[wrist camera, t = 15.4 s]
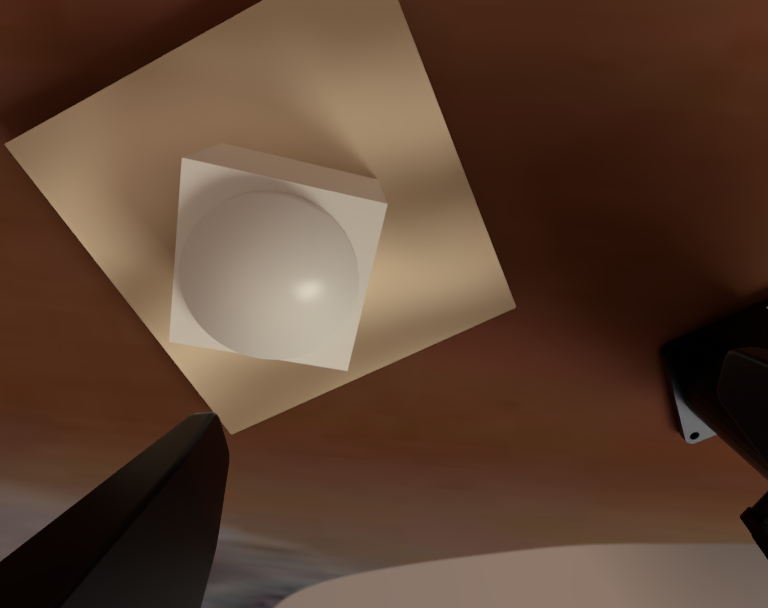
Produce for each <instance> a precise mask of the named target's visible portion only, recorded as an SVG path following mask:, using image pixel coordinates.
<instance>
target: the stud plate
mask: <svg viewBox="0 0 768 608" xmlns="http://www.w3.org/2000/svg"><path fill="white" fill-rule="evenodd" d="M221 143H225V144H229V145H233V146H238V147H242V148H246V149H250V150H255V151H259V152H263V153H268V154H272V155H276V156H280V157H285V158H289V159H293V160H298V161H302V162H306V163H310V164H315V165H319V166H323V167H328V168H332V169H336V170H340V171H345V172H349V173H353V174H358V175H362V176H366V177H370V178H375V179H378V181H379V184H380V186H381V189H382V191H383V194H384V196H385V198H386V201H387V203H388V205H387V209H386V213H385V217H384V221H383V226H382V230H381V234H380V238H379V242H378V246H377V251H376V255H375V259H374V263H373V267H372V271H371V276H370V280H369V284H368V288H367V292H366V296H365V300H364V305H363V309H362V313H361V317H360V321H359V325H358V330H357V334H356V338H355V342H354V346H353V350H352V355H351V359H350V363H349V367H348V371H343V370H337V369H331V368H325V367H319V366H313V365H307V364H301V363H295V362H288V361H282V360H268V359H259V358H254V357H250V356H246V355H243V354H239V353H233V352H227V351H221V350H215V349H209V348H203V347H197V346H191V345H184V344H178V343H172V342H169V335H170V320H171V306H172V291H173V277H174V262H175V248H176V234H177V219H178V205H179V190H180V176H181V161H182V157H184V156H187V155H190V154H193V153H196V152H199V151H201V150H204V149H207V148H210V147H213V146H216V145H219V144H221ZM4 145H5V146H6V147H7V149H8V150H9V151H10V152H11V154H12V155H13V156H14V157H15V159H16V160H17V161H18V163H19V164H20V165H21V166H22V168H23V169H24V170H25V172H26V173H27V174H28V175H29V177H30V178H31V179H32V180H33V182H34V183H35V184H36V186H37V187H38V188H39V189H40V191H41V192H42V193H43V195H44V196H45V197H46V198H47V200H48V201H49V202H50V203H51V205H52V206H53V207H54V209H55V210H56V211H57V212H58V214H59V215H60V216H61V218H62V219H63V220H64V221H65V223H66V224H67V225H68V226H69V228H70V229H71V230H72V232H73V233H74V234H75V235H76V237H77V238H78V239H79V241H80V242H81V243H82V244H83V246H84V247H85V248H86V249H87V251H88V252H89V253H90V255H91V256H92V257H93V258H94V260H95V261H96V262H97V264H98V265H99V266H100V267H101V269H102V270H103V271H104V272H105V274H106V275H107V276H108V278H109V279H110V280H111V281H112V283H113V284H114V285H115V287H116V288H117V289H118V290H119V292H120V293H121V294H122V295H123V297H124V298H125V299H126V301H127V302H128V303H129V304H130V306H131V307H132V308H133V310H134V311H135V312H136V313H137V315H138V316H139V317H140V318H141V320H142V321H143V322H144V324H145V325H146V326H147V327H148V329H149V330H150V331H151V333H152V334H153V335H154V336H155V338H156V339H157V340H158V341H159V343H160V344H161V345H162V347H163V348H164V349H165V350H166V352H167V353H168V354H169V356H170V357H171V358H172V359H173V361H174V362H175V363H176V364H177V366H178V367H179V368H180V370H181V371H182V372H183V373H184V375H185V376H186V377H187V379H188V380H189V381H190V382H191V384H192V385H193V386H194V388H195V389H196V390H197V391H198V393H199V394H200V395H201V396H202V398H203V399H204V400H205V402H206V403H207V404H208V405H209V407H210V408H211V409H212V411H213V412H215V413H216V414H217V415H218V416H219V418H220V421H221V422H222V423H223V425H224V426H225V427H226V428H227V430H228V431H229V432H230V434H231V435H232V434H234V433H236V432H239V431H241V430H243V429H245V428H247V427H250V426H252V425H254V424H256V423H259V422H261V421H263V420H265V419H268V418H270V417H272V416H274V415H277V414H279V413H281V412H283V411H286V410H288V409H290V408H292V407H294V406H297V405H299V404H301V403H303V402H306V401H308V400H310V399H312V398H315V397H317V396H319V395H321V394H324V393H326V392H328V391H330V390H333V389H335V388H337V387H339V386H342V385H344V384H346V383H348V382H350V381H353V380H355V379H357V378H359V377H362V376H364V375H366V374H368V373H371V372H373V371H375V370H377V369H380V368H382V367H384V366H386V365H389V364H391V363H393V362H395V361H397V360H400V359H402V358H404V357H406V356H409V355H411V354H413V353H415V352H418V351H420V350H422V349H424V348H427V347H429V346H431V345H433V344H436V343H438V342H440V341H442V340H444V339H447V338H449V337H451V336H453V335H456V334H458V333H460V332H462V331H465V330H467V329H469V328H471V327H474V326H476V325H478V324H480V323H483V322H485V321H487V320H489V319H492V318H494V317H496V316H498V315H500V314H503V313H505V312H507V311H509V310H512V309H514V308H516V305H515V302H514V300H513V297H512V295H511V292H510V289H509V287H508V284H507V282H506V279H505V276H504V274H503V271H502V269H501V266H500V263H499V261H498V258H497V256H496V253H495V250H494V248H493V245H492V243H491V240H490V237H489V235H488V232H487V230H486V227H485V224H484V222H483V219H482V217H481V214H480V211H479V209H478V206H477V204H476V201H475V198H474V196H473V193H472V191H471V188H470V185H469V183H468V180H467V178H466V175H465V172H464V170H463V167H462V165H461V162H460V159H459V157H458V154H457V152H456V149H455V147H454V144H453V141H452V139H451V136H450V134H449V131H448V128H447V126H446V123H445V121H444V118H443V115H442V113H441V110H440V108H439V105H438V102H437V100H436V97H435V95H434V92H433V89H432V87H431V84H430V82H429V79H428V76H427V74H426V71H425V69H424V66H423V63H422V61H421V58H420V56H419V53H418V50H417V48H416V45H415V43H414V40H413V37H412V35H411V32H410V30H409V27H408V24H407V22H406V19H405V17H404V14H403V11H402V9H401V6H400V4H399V1H398V0H262V1H260V2H259V3H257V4H255V5H253V6H251V7H250V8H248V9H246V10H244V11H242V12H241V13H239V14H237V15H235V16H233V17H232V18H230V19H228V20H226V21H224V22H223V23H221V24H219V25H217V26H216V27H214V28H212V29H210V30H208V31H207V32H205V33H203V34H201V35H199V36H198V37H196V38H194V39H192V40H190V41H189V42H187V43H185V44H183V45H181V46H180V47H178V48H176V49H174V50H172V51H171V52H169V53H167V54H165V55H164V56H162V57H160V58H158V59H156V60H155V61H153V62H151V63H149V64H147V65H146V66H144V67H142V68H140V69H138V70H137V71H135V72H133V73H131V74H129V75H128V76H126V77H124V78H122V79H120V80H119V81H117V82H115V83H113V84H111V85H110V86H108V87H106V88H104V89H103V90H101V91H99V92H97V93H95V94H94V95H92V96H90V97H88V98H86V99H85V100H83V101H81V102H79V103H77V104H76V105H74V106H72V107H70V108H68V109H67V110H65V111H63V112H61V113H59V114H58V115H56V116H54V117H52V118H50V119H49V120H47V121H45V122H43V123H42V124H40V125H38V126H36V127H34V128H33V129H31V130H29V131H27V132H25V133H24V134H22V135H20V136H18V137H16V138H15V139H13V140H11V141H9V142H7V143H6V144H4Z"/></svg>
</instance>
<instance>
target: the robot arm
mask: <svg viewBox="0 0 768 608" xmlns="http://www.w3.org/2000/svg"><path fill="white" fill-rule="evenodd" d="M674 350H675V352H674V353H673V354H671V353H672V352H673V351H674ZM660 355H661V359H662V363H663V367H664V371H665V375H666V379H667V383H668V387H669V391H670V395H671V399H672V403H673V407H674V411H675V415H676V419H677V423H678V427H679V431H680V435H681V437H682V438H683V439H684V440H685V441H686V442H688V443H696V442H699V441H701V440H704V439H706V438H709V437H711V436H714V435H718V436H719V437H720V438H721V439H722V440H723V441H725V442H726V443H727V444H728V445H729V446H730V447H731V448H732V449H733V450H735V451H736V452H737V453H738V454H739V455H740V456H741V457H742V458H743V459H745V460H746V461H747V462H748V463H749V464H750V465H751V466H752V467H753V468H755V469H756V470H757V471H758V472H759V473H760V474H761V475H762V476H763V477H765V478H766V479H767V480H768V300H767V301H765V302H762V303H760V304H758V305H755V306H753V307H751V308H748V309H746V310H743V311H741V312H739V313H736V314H734V315H732V316H729V317H727V318H724V319H722V320H720V321H717V322H715V323H713V324H710V325H708V326H706V327H703V328H701V329H698V330H696V331H694V332H691V333H689V334H687V335H684V336H682V337H679V338H677V339H675V340H672V341H670V342H668V343H666V344H665V345H664V346H663V347H662V349H661V351H660ZM228 467H229V450H228V446H227V442H226V439H225V435H224V432H223V428H222V425H221V421H220V418H219V416H218V415H217V414H216V413H215V412H205V413H197V414H192V415H190V416H188V417H187V418H186V419H184V420H183V421H182V422H180V423H179V424H178V425H177V426H175V427H174V428H173V429H171V430H170V431H169V432H168V433H166V434H165V435H164V436H162V437H161V438H160V439H158V440H157V441H156V442H155V443H153V444H152V445H151V446H149V447H148V448H147V449H146V450H144V451H143V452H142V453H140V454H139V455H138V456H136V457H135V458H134V459H133V460H131V461H130V462H129V463H127V464H126V465H125V466H124V467H122V468H121V469H120V470H118V471H117V472H116V473H114V474H113V475H112V476H111V477H109V478H108V479H107V480H105V481H104V482H103V483H102V484H100V485H99V486H98V487H96V488H95V489H94V490H92V491H91V492H90V493H89V494H87V495H86V496H85V497H83V498H82V499H81V500H80V501H78V502H77V503H76V504H74V505H73V506H72V507H70V508H69V509H68V510H67V511H65V512H64V513H63V514H61V515H60V516H59V517H58V518H56V519H55V520H54V521H52V522H51V523H50V524H48V525H47V526H46V527H45V528H43V529H42V530H41V531H39V532H38V533H37V534H35V535H34V536H33V537H32V538H30V539H29V540H28V541H26V542H25V543H24V544H23V545H21V546H20V547H19V548H17V549H16V550H15V551H13V552H12V553H11V554H10V555H8V556H7V557H6V558H4V559H3V560H2V561H1V562H0V608H201V605H202V601H203V598H204V594H205V590H206V586H207V583H208V579H209V575H210V571H211V567H212V564H213V559H214V555H215V551H216V546H217V540H218V535H219V528H220V521H221V514H222V508H223V501H224V494H225V487H226V481H227V474H228ZM740 518H741V520H742V521H743V523H744V524H745V525H746V527H747V528H748V530H749V531H750V533H751V534H752V537H753V539H754V540H755V542H756V543H757V545H758V546H759V548H760V549H761V550H762V552H763V553H764V555H765V556H766V558H767V559H768V491H767V492H766V493H765V494H764V495H763V496H762V497H761V498H760V499H759V501H758V502H757V503H756V504H755V505H754V506H753V507H752V508H751V507H748V508H747V509H746V510H745V511H744V512H743V513H742V514H741V515H740Z"/></svg>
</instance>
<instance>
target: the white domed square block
mask: <svg viewBox="0 0 768 608" xmlns="http://www.w3.org/2000/svg"><path fill="white" fill-rule="evenodd" d="M387 205H388V203H387V201H386V198H385V196H384V194H383V191H382V189H381V186H380V184H379V181H378V179H375V178H370V177H366V176H362V175H358V174H353V173H349V172H345V171H340V170H336V169H332V168H328V167H323V166H319V165H315V164H310V163H306V162H302V161H298V160H293V159H289V158H285V157H280V156H276V155H272V154H268V153H263V152H259V151H255V150H250V149H246V148H242V147H238V146H233V145H229V144H225V143H221V144H219V145H216V146H213V147H210V148H207V149H204V150H201V151H199V152H196V153H193V154H190V155H187V156H184V157H182V161H181V176H180V190H179V205H178V219H177V234H176V248H175V262H174V277H173V291H172V306H171V320H170V335H169V342H172V343H178V344H184V345H191V346H197V347H203V348H209V349H215V350H221V351H227V352H233V353H239V354H243V355H246V356H250V357H254V358H259V359H268V360H282V361H288V362H295V363H301V364H307V365H313V366H319V367H325V368H331V369H337V370H343V371H348V367H349V363H350V359H351V355H352V350H353V346H354V342H355V338H356V334H357V330H358V325H359V321H360V317H361V313H362V309H363V305H364V300H365V296H366V292H367V288H368V284H369V280H370V276H371V271H372V267H373V263H374V259H375V255H376V251H377V246H378V242H379V238H380V234H381V230H382V226H383V221H384V217H385V213H386V209H387Z"/></svg>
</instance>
